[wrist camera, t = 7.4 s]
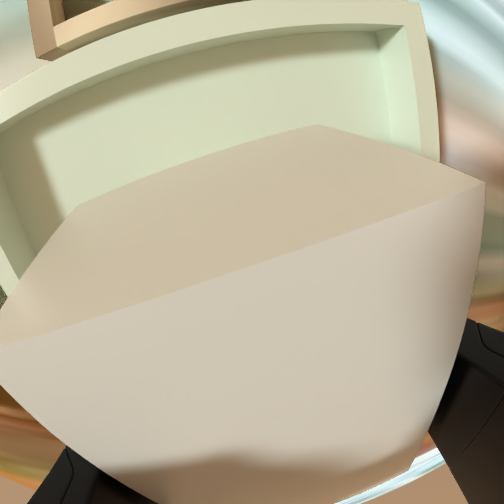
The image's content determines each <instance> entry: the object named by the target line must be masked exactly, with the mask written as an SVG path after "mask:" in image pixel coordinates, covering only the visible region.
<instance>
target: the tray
mask: <svg viewBox="0 0 504 504" xmlns="http://www.w3.org/2000/svg"><path fill="white" fill-rule="evenodd" d="M314 124H320V125H324V126H328V127H331V128H335V129H339V130H342V131H346V132H350V133H353V134H356V135H360V136H363V137H367V138H370V139H373V140H376V141H379V142H382V143H386V144H389V145H392V146H395V147H398V148H400V149H403V150H406V151H409V152H412V153H415V154H417V155H420V156H423V157H425V158H428V159H431V160H433V161H436V162H438V163H440V145H439V126H438V112H437V101H436V92H435V84H434V76H433V69H432V62H431V56H430V50H429V45H428V40H427V35H426V30H425V25H424V21H423V16H422V12H421V8H420V4H419V3H417V2H411V1H404V0H251V1H243V2H236V3H230V4H224V5H219V6H213V7H208V8H203V9H198V10H194V11H190V12H185V13H181V14H177V15H173V16H170V17H166V18H162V19H159V20H155V21H152V22H149V23H145V24H142V25H139V26H136V27H133V28H130V29H127V30H124V31H122V32H119V33H116V34H113V35H111V36H108V37H105V38H103V39H100V40H98V41H95V42H93V43H91V44H88V45H86V46H84V47H81V48H79V49H77V50H75V51H73V52H70V53H68V54H66V55H64V56H62V57H60V58H58V59H56V60H54V61H52V62H50V63H48V64H46V65H44V66H42V67H40V68H39V69H37V70H35V71H33V72H31V73H30V74H28V75H26V76H24V77H23V78H21V79H19V80H18V81H16V82H14V83H13V84H11V85H9V86H8V87H6V88H5V89H3V90H1V91H0V285H1V287H2V288H3V290H4V292H5V293H6V295H7V297H9V295H10V293H11V292H12V290H13V289H14V287H15V286H16V284H17V283H18V281H19V280H20V279H21V277H22V276H23V274H24V273H25V271H26V270H27V269H28V267H29V266H30V264H31V263H32V262H33V260H34V259H35V257H36V256H37V255H38V253H39V252H40V251H41V249H42V248H43V247H44V245H45V244H46V243H47V242H48V240H49V239H50V238H51V236H52V235H53V234H54V233H55V231H56V230H57V229H58V228H59V226H60V225H61V224H62V223H63V222H64V220H65V219H66V218H67V217H68V216H69V214H70V213H71V212H72V211H73V210H74V208H75V207H76V206H77V205H79V204H81V203H83V202H86V201H88V200H90V199H92V198H95V197H97V196H99V195H102V194H104V193H106V192H109V191H111V190H114V189H116V188H118V187H121V186H123V185H126V184H128V183H131V182H133V181H136V180H138V179H141V178H143V177H146V176H149V175H151V174H154V173H156V172H159V171H162V170H165V169H167V168H170V167H173V166H176V165H178V164H181V163H184V162H187V161H190V160H193V159H196V158H199V157H202V156H205V155H208V154H211V153H214V152H217V151H220V150H223V149H226V148H230V147H233V146H236V145H239V144H243V143H246V142H250V141H253V140H256V139H260V138H264V137H267V136H271V135H274V134H278V133H282V132H286V131H290V130H293V129H297V128H301V127H305V126H310V125H314Z"/></svg>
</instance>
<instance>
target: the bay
mask: <svg viewBox="0 0 504 504" xmlns="http://www.w3.org/2000/svg"><path fill="white" fill-rule="evenodd" d="M243 1H251V0H114V1H112V2H109V3H106V4H104V5H101V6H99V7H96V8H94V9H91V10H89V11H86V12H84V13H82V14H79V15H77V16H75V17H73V18H71V19H68V20H66V21H65V15H64V9H63V3H62V0H27V4H28V12H29V19H30V26H31V32H32V38H33V44H34V49H35V54H36V58H39V59H44V60H48V61H54V60H56V59H58V58H60V57H62V56H64V55H66V54H68V53H70V52H73V51H75V50H77V49H79V48H81V47H84V46H86V45H88V44H91V43H93V42H95V41H98V40H100V39H103V38H105V37H108V36H111V35H113V34H116V33H119V32H122V31H124V30H127V29H130V28H133V27H136V26H139V25H142V24H145V23H149V22H152V21H155V20H159V19H162V18H166V17H170V16H173V15H177V14H181V13H185V12H190V11H194V10H198V9H203V8H208V7H213V6H219V5H224V4H230V3H236V2H243Z"/></svg>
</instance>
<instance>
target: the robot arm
mask: <svg viewBox="0 0 504 504" xmlns="http://www.w3.org/2000/svg"><path fill="white" fill-rule="evenodd" d="M428 433H429V434H430V436H431V438H432V439H433V441H434V443H435V444H436V446H437V448H438V450H439V451H440V453H441V455H442V456H443V458H444V460H445V462H446V463H447V465H448V467H450V468H449V469H450V471H451V473H452V474H453V476H454V478H455V480H456V481H457V483H458V485H459V487H460V489H461V491H462V492H463V494H464V496H465V498H466V500H467V502H468V504H504V332H502V331H499V330H496V329H494V328H491V327H489V326H486V325H484V324H481V323H479V322H478V323H476V321H474V320H471V319H469V318H467V319H466V323H465V327H464V331H463V335H462V338H461V342H460V345H459V349H458V352H457V355H456V358H455V362H454V365H453V368H452V371H451V374H450V376H449V379H448V382H447V385H446V388H445V390H444V393H443V396H442V398H441V401H440V403H439V406H438V408H437V411H436V413H435V416H434V418H433V420H432V423H431V425H430V427H429V429H428ZM27 504H158V503H156V502H154V501H153V500H151V499H149V498H147V497H145V496H143V495H142V494H140V493H138V492H136V491H134V490H133V489H131V488H129V487H128V486H126V485H124V484H123V483H121V482H119V481H118V480H116V479H115V478H113V477H111V476H110V475H108V474H107V473H105V472H104V471H102V470H101V469H99V468H98V467H96V466H95V465H93V464H92V463H90V462H89V461H88V460H86V459H85V458H83V457H82V456H81V455H79V454H78V453H77V452H75V451H74V450H73V449H71V448H70V447H69V446H67V445H66V449H64V450H63V451H62V453H61V455H60V456H59V458H58V460H57V461H56V463H55V464H54V466H53V468H52V469H51V471H50V472H49V474H48V475H47V477H46V478H45V479H44V481H43V482H42V484H41V485H40V487H39V488H38V489H37V491H36V492H35V494H34V495H33V496H32V498H31V499H30V501H29V502H28V503H27Z"/></svg>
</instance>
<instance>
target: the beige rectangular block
mask: <svg viewBox="0 0 504 504" xmlns="http://www.w3.org/2000/svg"><path fill="white" fill-rule="evenodd" d="M485 194H486V183H485V182H483V181H481V180H479V179H476V178H474V177H472V176H470V175H467V174H465V173H463V172H460V171H458V170H456V169H453V168H451V167H448V166H446V165H443V164H441V163H438V162H436V161H433V160H431V159H428V158H425V157H423V156H420V155H417V154H415V153H412V152H409V151H406V150H403V149H400V148H398V147H395V146H392V145H389V144H386V143H382V142H379V141H376V140H373V139H370V138H367V137H363V136H360V135H356V134H353V133H350V132H346V131H342V130H339V129H335V128H331V127H328V126H324V125H320V124H314V125H310V126H305V127H301V128H297V129H293V130H290V131H286V132H282V133H278V134H274V135H271V136H267V137H264V138H260V139H256V140H253V141H250V142H246V143H243V144H239V145H236V146H233V147H230V148H226V149H223V150H220V151H217V152H214V153H211V154H208V155H205V156H202V157H199V158H196V159H193V160H190V161H187V162H184V163H181V164H178V165H176V166H173V167H170V168H167V169H165V170H162V171H159V172H156V173H154V174H151V175H149V176H146V177H143V178H141V179H138V180H136V181H133V182H131V183H128V184H126V185H123V186H121V187H118V188H116V189H114V190H111V191H109V192H106V193H104V194H102V195H99V196H97V197H95V198H92V199H90V200H88V201H86V202H83V203H81V204H79V205H77V206H76V207H75V208H74V210H73V211H72V212H71V213H70V214H69V216H68V217H67V218H66V219H65V220H64V222H63V223H62V224H61V225H60V226H59V228H58V229H57V230H56V231H55V233H54V234H53V235H52V236H51V238H50V239H49V240H48V242H47V243H46V244H45V245H44V247H43V248H42V249H41V251H40V252H39V253H38V255H37V256H36V257H35V259H34V260H33V262H32V263H31V264H30V266H29V267H28V269H27V270H26V271H25V273H24V274H23V276H22V277H21V279H20V280H19V281H18V283H17V284H16V286H15V287H14V289H13V290H12V292H11V293H10V295H9V297H8V298H7V300H6V301H5V303H4V304H3V306H2V308H1V309H0V385H1V386H2V387H3V388H4V389H5V390H6V391H7V392H8V393H9V394H10V395H11V396H12V397H13V398H14V399H15V400H16V401H17V402H18V403H19V404H20V405H21V406H22V407H23V408H24V409H25V410H26V411H27V412H28V413H30V414H31V415H32V416H33V417H34V418H35V419H36V420H37V421H38V422H40V423H41V424H42V425H43V426H44V427H45V428H46V429H48V430H49V431H50V432H51V433H52V434H54V435H55V436H56V437H57V438H59V439H60V440H61V441H62V442H64V443H65V444H66V445H67V446H69V447H70V448H71V449H73V450H74V451H75V452H77V453H78V454H79V455H81V456H82V457H83V458H85V459H86V460H88V461H89V462H90V463H92V464H93V465H95V466H96V467H98V468H99V469H101V470H102V471H104V472H105V473H107V474H108V475H110V476H111V477H113V478H115V479H116V480H118V481H119V482H121V483H123V484H124V485H126V486H128V487H129V488H131V489H133V490H134V491H136V492H138V493H140V494H142V495H143V496H145V497H147V498H149V499H151V500H153V501H154V502H156V503H158V504H334V503H337V502H340V501H342V500H345V499H348V498H350V497H353V496H355V495H357V494H360V493H362V492H364V491H367V490H369V489H371V488H374V487H376V486H378V485H380V484H382V483H384V482H386V481H388V480H390V479H392V478H395V477H396V476H398V475H400V474H402V473H404V472H406V471H408V470H409V468H410V466H411V464H412V462H413V460H414V458H415V456H416V454H417V453H418V450H419V448H420V446H421V444H422V442H423V440H424V438H425V436H426V434H427V432H428V429H429V427H430V425H431V423H432V420H433V418H434V416H435V413H436V411H437V408H438V406H439V403H440V401H441V398H442V396H443V393H444V390H445V388H446V385H447V382H448V379H449V376H450V374H451V371H452V368H453V365H454V362H455V358H456V355H457V352H458V349H459V345H460V342H461V338H462V335H463V331H464V327H465V323H466V319H467V315H468V311H469V307H470V303H471V298H472V293H473V288H474V283H475V278H476V272H477V267H478V260H479V254H480V247H481V239H482V230H483V221H484V209H485Z"/></svg>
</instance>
